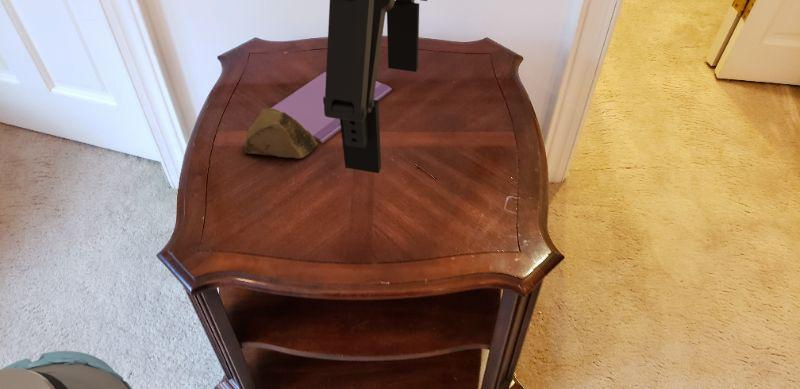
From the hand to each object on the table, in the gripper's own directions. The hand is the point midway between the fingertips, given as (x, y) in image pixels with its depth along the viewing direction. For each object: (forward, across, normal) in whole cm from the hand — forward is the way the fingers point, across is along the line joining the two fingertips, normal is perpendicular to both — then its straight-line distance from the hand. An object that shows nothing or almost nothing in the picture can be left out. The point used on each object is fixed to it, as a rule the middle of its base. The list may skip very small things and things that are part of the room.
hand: (385, 113), depth 48 cm
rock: (+31, +23, +24) cm, 46 cm away
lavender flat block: (+31, +37, +20) cm, 52 cm away
